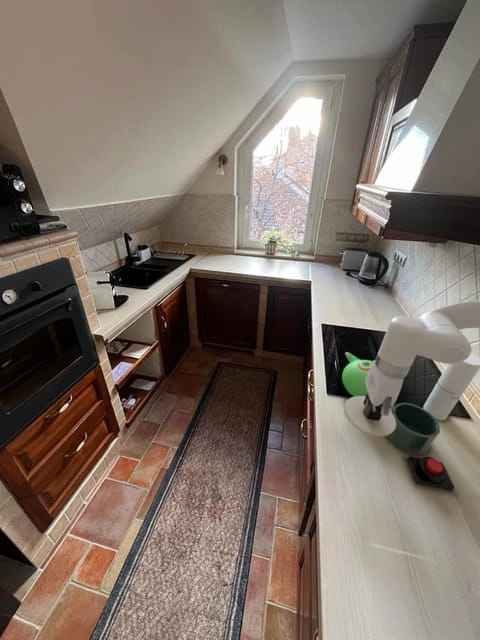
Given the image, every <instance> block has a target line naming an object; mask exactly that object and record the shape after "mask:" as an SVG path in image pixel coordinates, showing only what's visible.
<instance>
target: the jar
mask: <svg viewBox="0 0 480 640" xmlns="http://www.w3.org/2000/svg"><path fill="white" fill-rule="evenodd" d="M390 411H391V412H392V414H393V415H394V417H395V420H396V428H395V430H394V431H393V433H391V434H390V435H388V436H386V437H387V438H388V441H390V442H391V443H392V444H393V445H394V447H397V448H398V449H400V450H401V451H402V452H405V453H408V454H411V455H423V454H425V453H427V452H428V451H429V449H430V448H431V446H432V444H433V443H434V442H435V440H436V439H437V438H438V436H439V434H440V433H441V426H440V424H439V422H438V419H435V418H434V417H433V416H432V415H431V414H430V413H429V412H427V411H426V410H424V408H423V407H421V406H418V405H416V404H414V403H409V402H401V403H397V404H394V405H393V406H392V408H391V410H390Z"/></svg>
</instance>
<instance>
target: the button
mask: <svg viewBox="0 0 480 640" xmlns="http://www.w3.org/2000/svg"><path fill="white" fill-rule="evenodd" d="M438 461H439V460H438V459H435V458H434V459H428V460H427V462H426V463H425V467H426V469H427V470H428V471H429V472H430V473H432V474H434V475H439V474H440V473H441V472H442V470H443V467H442V465H441V464H440V463H439V462H440V461H439V462H438Z"/></svg>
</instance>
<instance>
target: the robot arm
mask: <svg viewBox="0 0 480 640" xmlns="http://www.w3.org/2000/svg"><path fill="white" fill-rule="evenodd" d="M464 329H480V300H468V301H467V300H465V301H460V302H456V303H451V304H447V305H444V306H441V307H438V308H437V307H436V308H434V309H431V310H428V311H427V312H424V313H423V314H421V315H420V316H419V317H417V318H415V317H413V316H409V315H407V316H406V315H398V316H395V317H393V318H392V319H391V320H390V321H389V324H388V326H387V329H386V331H385V334H384V337H383V339H382V342H381V344H380V346H379V348H378V349H379V350H378V352H377V355H376V357H375V359H374V360H375V361H374V360H373V361H374V362H373V364H372V366H371V368H370V370H369V372H368V374H367V377H366V379H365V384H366V388H367V394H369V395H366V398H365V400H364V403H363V404H364V406H365V404H366V401H367V399H368V396H369V397H370V400H371V402H372V404H373V408H370V411H369V413H368V415H367V419H371V420H376V421H379V420H380V418H381V416H382V415H384V416H389V410H390V409H392V408H393V407H394V406H395V405H396V404H395V403H396V401H397V400H398V397H399V396H400V392H401V390H402V387H403V384H404V379H405V377H407V375H408V373H409V371H410V369H411V368H412V366H413V363H414V361H415V360H416V358H417V356H420V357H423V358H426V359H429V360H432V361H433V362H434V361H435V362H438V363H442V364H447V365H448V364H455V363H460V362H462V361H464V360H466V359H467V358H468V357H469V356H470V354H471V353H472V346H471V343H470V341H469V340H468V338H467V337H466V336H465V335H464V334H463V332H462V331H461V330H464ZM379 405H382V408H378V407H377V406H379Z"/></svg>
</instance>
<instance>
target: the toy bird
mask: <svg viewBox="0 0 480 640" xmlns="http://www.w3.org/2000/svg"><path fill="white" fill-rule="evenodd" d="M344 355H345V357H346V359H347V361H348V362H349V363H348V364H346V366H345V367H344V368H343V371H342V374H341V380H342V385H343V387H344V388H345V390H346V391H347V393H349V394H350V395H352V397H355V396H365V397H366V395H369V394H367V388H366V384H365V379H366V377H367V374H368V372H369V370H370V368H371V366H372V364H373V362H374V361H375V359H374V360H368V359H360V358H358V357H357V356H355V355H353V354H352V353H350V352H348V351H345V353H344Z"/></svg>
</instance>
